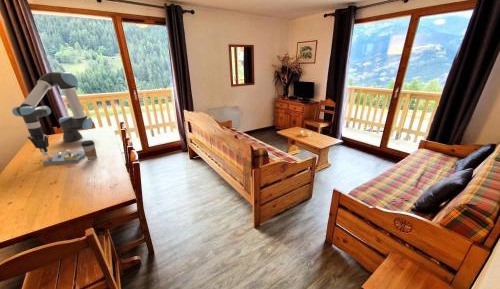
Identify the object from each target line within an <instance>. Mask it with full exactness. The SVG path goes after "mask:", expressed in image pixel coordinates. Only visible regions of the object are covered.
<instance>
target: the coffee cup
mask: <svg viewBox="0 0 500 289" xmlns="http://www.w3.org/2000/svg"><path fill="white" fill-rule="evenodd" d="M80 145H81V147H82V149H83V150H82V151H84V153H85V155H86V157H85V158H86V159H87V161H89V162H91V161H95V160H97V159H98V155H97V154H98V153H97V150H96V145H95V142H94V141H93V140H91V139H89V140H84V141H81V144H80Z"/></svg>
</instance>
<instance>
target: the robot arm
mask: <svg viewBox="0 0 500 289" xmlns="http://www.w3.org/2000/svg"><path fill="white" fill-rule="evenodd" d="M77 85H78V78H76V75H74V74H73V73H72V72H69V71H67V72H66V71H51V72H50V71H49V72H47V73H45V74H43V75H42V76H41V77H39V79H37V81H36V85H35V86H34V87H33V89H32V90H31V91H30V93H29V94H28V95H27V96H26V97H25V99H24V100H23V101H22V103H21V104H20V105H19V106H15V107H12V109H11V111H12V115H14V116H15V117H19V118H20V117H22V119H23V120H24V123H25V125H26V129H27V132H28V134H29V136H27V139H28V140H29V141H30V142H31V143H32V145H33V146H34V148H36V149H39V150H40V153H42V156H43V157H48V156H49V154H48V148H49V146H50V143H49V137H50V135H48V134H47V135H46V134H45V133H44V130H43V127H42V125H41V123H40V122H41V121H40V120H39V118H42V117H46V116H49V115H51V113H52V110H51V108H50V107H49V106H47V105H40V106H38V105H39V103H40V102H41V100H42V99H43V98H44V96H45V95H46V94H47V92H48V90H52V88H53V87H58V88H59V90H61V91H63V94H64V96H65V99H66V102H67V104H68V106H69V109H70V111H71V112H72V115H68V116H67V115H66V116H63V117H60V118H59V119H58V123H59V125H60V129H61V130H62V135H63V136H62V140H63V142H65V143H71V142H76V141H80V140H81V139H83V137H84V136H83V134H82V133H81V132H80V130H90V129H91V128H92V127H93V119H92V118H91V117H89V116H88V114H86V113H85V111H84V109H83V106H82V103H81V101H80V99H79V96H78V94H77V91H76V88H77Z"/></svg>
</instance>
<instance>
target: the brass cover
mask: <svg viewBox="0 0 500 289" xmlns="http://www.w3.org/2000/svg"><path fill="white" fill-rule="evenodd" d="M77 157H78V156H77V154H68V155H66V156H65V157H63V158H64V161H73V160H75V159H76V158H77Z"/></svg>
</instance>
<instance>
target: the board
mask: <svg viewBox="0 0 500 289" xmlns="http://www.w3.org/2000/svg"><path fill="white" fill-rule="evenodd" d="M57 153H58V152H56V153H55V154H53V155H50V156H51V157H52V158H53V159H52V160H47V158H45V159H44V160H43V161H42V164H43V166H45V165H46V166H47V165H61V164H76V163H79V162H81V161H82V160H83V159H85V158H87V157H86V155H85V153H84V150H82V151H71V152H70V153H66V151H65V152H63V151H62V152H60V153H62V156H60V157H58V156H57ZM68 154H77V156H78V157H77V158H76V159H75V160H73V161H64V158H63V157H65V156H66V155H68Z"/></svg>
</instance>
